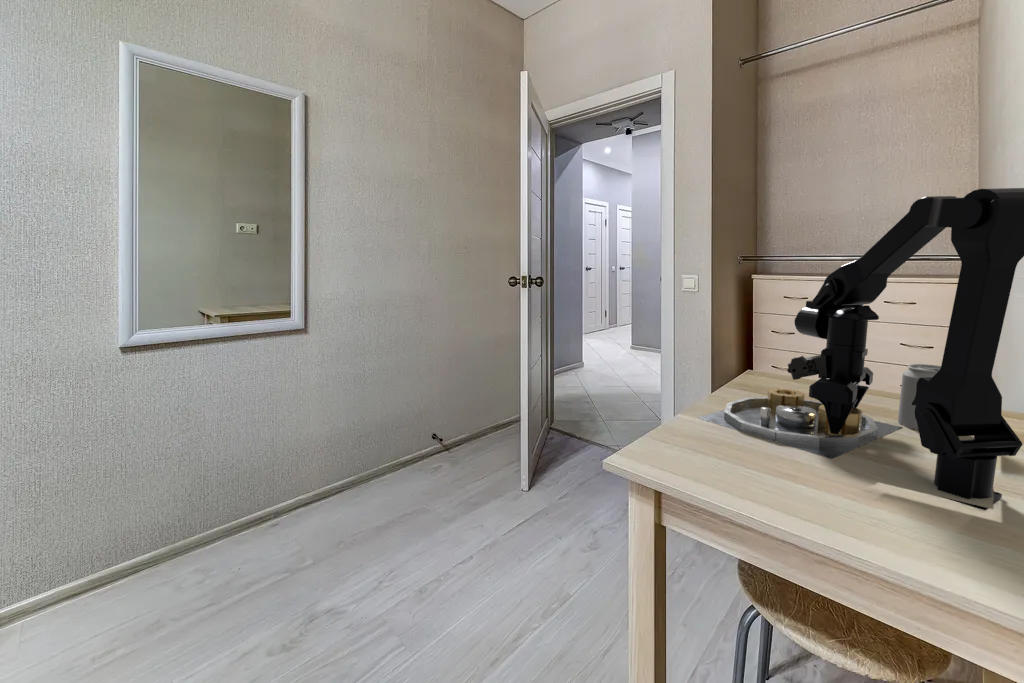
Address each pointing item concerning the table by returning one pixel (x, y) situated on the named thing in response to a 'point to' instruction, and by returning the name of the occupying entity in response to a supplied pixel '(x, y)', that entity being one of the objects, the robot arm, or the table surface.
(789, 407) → the domed metal knob cap
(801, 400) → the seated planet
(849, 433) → the hollow octagonal wooden tube
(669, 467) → the table surface
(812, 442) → the tray
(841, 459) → the table surface
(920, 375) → the can
